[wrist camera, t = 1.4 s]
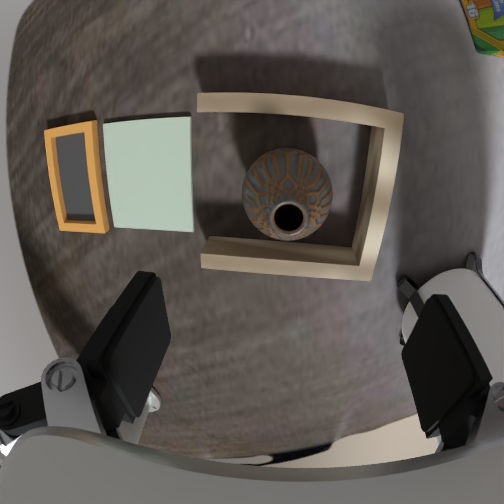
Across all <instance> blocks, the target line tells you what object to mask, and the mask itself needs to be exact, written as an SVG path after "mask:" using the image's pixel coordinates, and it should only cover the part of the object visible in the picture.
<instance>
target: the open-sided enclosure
mask: <svg viewBox="0 0 504 504" xmlns="http://www.w3.org/2000/svg"><path fill="white" fill-rule="evenodd" d="M197 112H249V113H270V114H285V115H297V116H307V117H316V118H325V119H332V120H340V121H346V122H353V123H359V124H365V125H370V126H371V133H370V142H369V150H368V157H367V164H366V171H365V178H364V184H363V190H362V196H361V202H360V208H359V213H358V218H357V223H356V229H355V233H354V238H353V243H352V247H343V246H331V245H320V244H308V243H295V242H283V241H270V240H258V239H244V238H231V237H217V236H209V238H208V240H207V242H206V244H205V246H204V248H203V250H202V252H201V268H208V269H219V270H230V271H241V272H253V273H266V274H278V275H291V276H304V277H318V278H332V279H347V280H362V281H371V278H372V275H373V271H374V268H375V264H376V260H377V257H378V253H379V249H380V245H381V241H382V237H383V233H384V229H385V225H386V221H387V216H388V212H389V207H390V202H391V197H392V192H393V187H394V182H395V176H396V170H397V164H398V158H399V151H400V144H401V137H402V129H403V120H404V113H400V112H396V111H391V110H387V109H382V108H377V107H372V106H367V105H362V104H356V103H350V102H344V101H337V100H330V99H323V98H315V97H305V96H295V95H282V94H266V93H197Z"/></svg>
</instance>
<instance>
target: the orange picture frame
mask: <svg viewBox="0 0 504 504" xmlns="http://www.w3.org/2000/svg"><path fill="white" fill-rule="evenodd" d="M44 134H45V145H46V154H47V163H48V170H49V177H50V183H51V189H52V195H53V200H54V205H55V210H56V215H57V220H58V224H59V228H60V230H61V231H77V232H92V233H106V232H107V231H108V230H109V224H108V218H107V212H106V205H105V198H104V191H103V183H102V175H101V166H100V155H99V143H98V127H97V120H94V121H87V122H82V123H76V124H71V125H66V126H61V127H56V128H52V129H48V130H44Z"/></svg>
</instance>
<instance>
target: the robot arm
mask: <svg viewBox="0 0 504 504" xmlns="http://www.w3.org/2000/svg"><path fill="white" fill-rule="evenodd" d="M170 339H171V332H170V327H169V323H168V317H167V312H166V307H165V302H164V296H163V290H162V284H161V279H160V278H159V277H156V274H155V273H154V272H145V271H138V272H137V273H136V274H135V276H134V277H133V278H132V280H131V281H130V282H129V284H128V285H127V287H126V288H125V289H124V291H123V292H122V294H121V295H120V297H119V298H118V299H117V301H116V302H115V304H114V305H113V306H112V307H111V308H110V310H109V311H108V312H107V314H106V315H105V317H104V318H103V320H102V321H101V323H100V324H99V326H98V327H97V329H96V330H95V332H94V333H93V335H92V337H91V338H90V340H89V341H88V343H87V344H86V346H85V348H84V349H83V351H82V352H81V354H80V356H79V357H78V359H77V360H76V361H75V360H73V359H71V358H60V359H57V360H55V361H52V362H51V363H50V364H49V365H47V367H46V368H45V369H44V371H43V374H42V376H41V382H39V383H36V384H34V385H30V386H28V387H25V388H22V389H19V390H16V391H14V392H11V393H8V394H5V395H3V396H2V397H0V504H504V383H503V382H497V383H494V384H493V385H492V386H490V384H489V383H490V382H491V380H492V379H493V377H492V375H491V373H490V371H489V369H488V367H487V365H486V363H485V360H484V358H483V356H482V354H481V353H480V351H479V349H478V347H477V345H476V343H475V341H474V339H473V337H472V335H471V334H470V332H469V330H468V328H467V326H466V325H465V323H464V321H463V320H462V318H461V316H460V314H459V313H458V311H457V309H456V308H455V306H454V304H453V303H452V301H451V300H450V298H449V296H448V295H446V294H432V295H431V297H430V298H428V299H427V300H426V302H425V304H424V307H423V309H422V311H421V313H420V315H419V317H418V320H417V322H416V324H415V326H414V328H413V330H412V332H411V334H410V336H409V338H408V340H407V342H406V344H405V346H404V347H403V350H402V360H403V363H404V367H405V370H406V373H407V376H408V380H409V383H410V387H411V390H412V394H413V397H414V401H415V405H416V409H417V413H418V416H419V420H420V424H421V428H422V430H423V431H424V432H425V434H426V438H432V437H437V436H439V435H441V442H440V444H439V446H438V448H437V450H436V452H435V453H434V454H430V455H426V456H421V457H416V458H411V459H406V460H400V461H394V462H387V463H379V464H371V465H362V466H351V467H337V468H276V467H261V466H249V465H239V464H231V463H222V462H216V461H210V460H204V459H198V458H193V457H188V456H183V455H178V454H174V453H169V452H165V451H160V450H156V449H152V448H148V447H145V446H141V445H137V444H138V441H139V438H140V435H141V432H142V429H143V426H144V424H145V421H146V418H147V415H148V413H149V412H153V411H156V410H158V409H159V407H160V405H161V398H160V396H159V394H158V393H157V392H156V391H155V390H154V388H152V385H153V383H154V380H155V378H156V375H157V373H158V370H159V368H160V365H161V363H162V360H163V358H164V355H165V353H166V350H167V348H168V346H169V343H170Z"/></svg>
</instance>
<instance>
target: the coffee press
mask: <svg viewBox="0 0 504 504" xmlns="http://www.w3.org/2000/svg"><path fill="white" fill-rule="evenodd" d="M474 259H475V261H476V270H477V272H478V274H479V275H480V276H481V277H480V276H479V275H478V274H477V273H476V272H474V271H472V265H473V261H474ZM397 287H398V289H399V290H400V291H401V292H402V293H403V294H404V295H405V296H406V297H407V298H408V300H409V303H408V305H407V307H406V309H405V311H404V314H403V318H402V326H401V327H402V334H403V335H402V336H401V338H400V344H401V345H404V346H405V344H406V342H407V340H408V338H409V336H410V334H411V332H412V330H413V328H414V326H415V324H416V322H417V320H418V317H419V315H420V313H421V311H422V309H423V307H424V304H425V302H426V300H427V299H428V298H430V297H431V295H432V294H446V295H448V296H449V298H450V300H451V301H452V303H453V304H454V306H455V308H456V309H457V311H458V313H459V314H460V316H461V318H462V320H463V321H464V323H465V325H466V326H467V328H468V330H469V332H470V334H471V335H472V337H473V339H474V341H475V343H476V345H477V347H478V349H479V351H480V353H481V354H482V356H483V358H484V360H485V363H486V365H487V367H488V369H489V371H490V373H491V375H492V377H493V379H492V380H491V382H490V383H489V384H490V386H492V385H493V384H494V383H497V382H503V383H504V301H503V300H502V299H501V297H500V296H499V295H498V293H497V292H496V291H495V290H494V288H493V287H492V286H491V285H490V283H489V282H488V281H487V280H486V278H485V277H484V275H483V272H482V261H481V258H480V257H479V256H478V255H477V254H476V253H474V252H471V253H469V254H468V256H467V258H466V267H465V269H452V270H448V271H445V272H443V273H440V274H438V275H437V276H435V277H433V278H432V279H430V280H429V281H428V282H426V283H425V284H424V285H423V286H422V287H419V286H418V285H417V284H416V283H414V282H413V281H412V280H411V279H410V278H409V277H408V276H406V275H404V276H403V277H402V278H401V279H400V281H399V282H398V283H397ZM435 440H436V445H437V448H438V446H439V444H440V442H441V435H439V436H437V437H435Z"/></svg>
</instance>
